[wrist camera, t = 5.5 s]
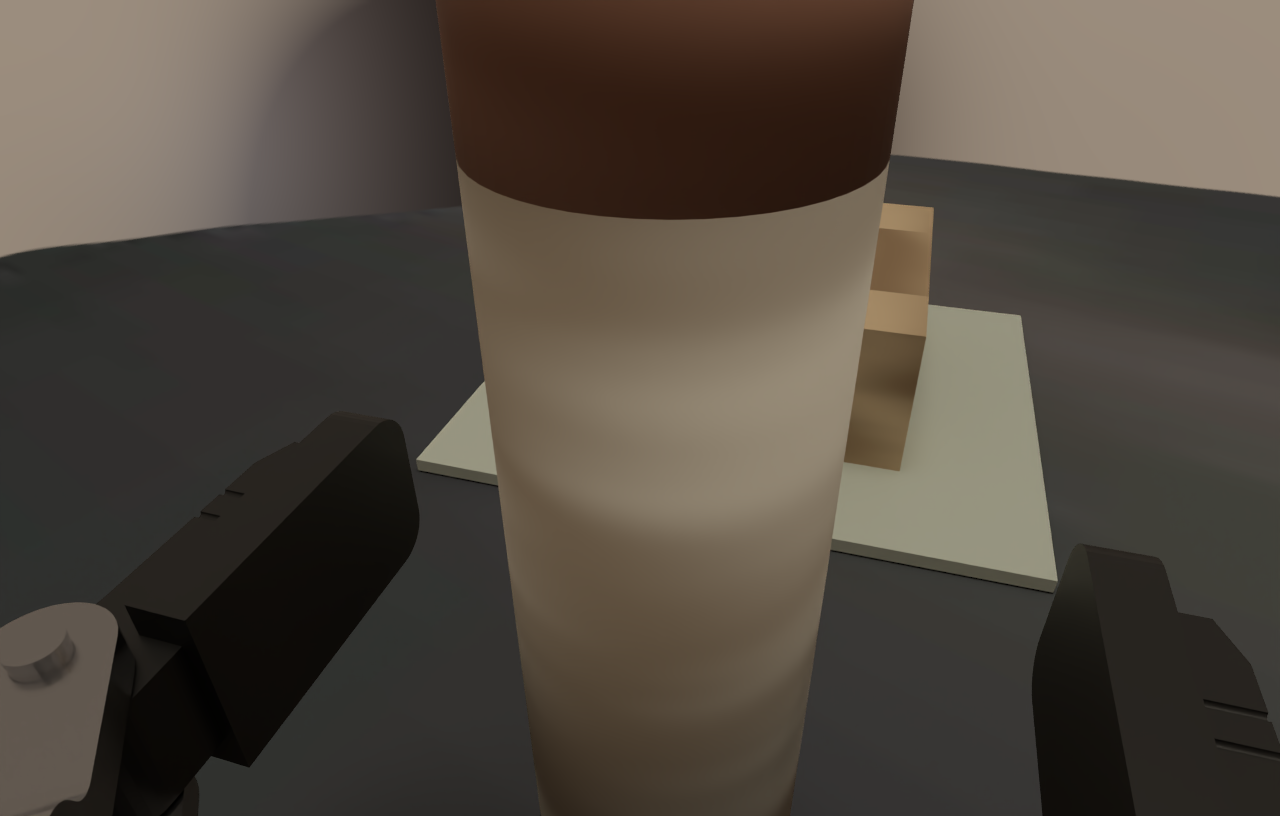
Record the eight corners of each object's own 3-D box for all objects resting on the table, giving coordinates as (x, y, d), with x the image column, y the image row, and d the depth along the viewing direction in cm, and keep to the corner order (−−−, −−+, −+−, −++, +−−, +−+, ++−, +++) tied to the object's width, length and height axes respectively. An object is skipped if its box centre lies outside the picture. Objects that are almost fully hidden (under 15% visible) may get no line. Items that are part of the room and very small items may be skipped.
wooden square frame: (912, 319, 33) (933, 207, 31) (899, 471, 25) (926, 336, 23) (664, 289, 36) (665, 183, 33) (580, 418, 28) (573, 291, 25)
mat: (1018, 324, 33) (1020, 315, 33) (1053, 592, 22) (1057, 581, 21) (586, 272, 38) (586, 264, 38) (418, 469, 26) (416, 459, 26)
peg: (774, 923, 15) (945, -179, 6) (738, 1145, 12) (936, -194, 4) (602, 871, 16) (537, -173, 7) (535, 1069, 13) (299, -180, 4)
